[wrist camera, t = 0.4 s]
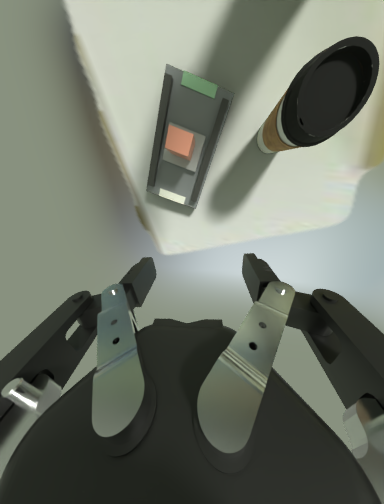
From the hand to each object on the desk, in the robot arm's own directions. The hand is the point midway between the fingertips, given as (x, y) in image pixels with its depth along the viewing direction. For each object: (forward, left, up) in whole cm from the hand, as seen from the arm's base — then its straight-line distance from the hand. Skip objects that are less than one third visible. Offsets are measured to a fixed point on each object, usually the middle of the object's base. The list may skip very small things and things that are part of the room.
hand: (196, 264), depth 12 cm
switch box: (-11, -8, -26) cm, 29 cm away
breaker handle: (-11, -8, -23) cm, 26 cm away
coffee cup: (-19, +8, -26) cm, 33 cm away
